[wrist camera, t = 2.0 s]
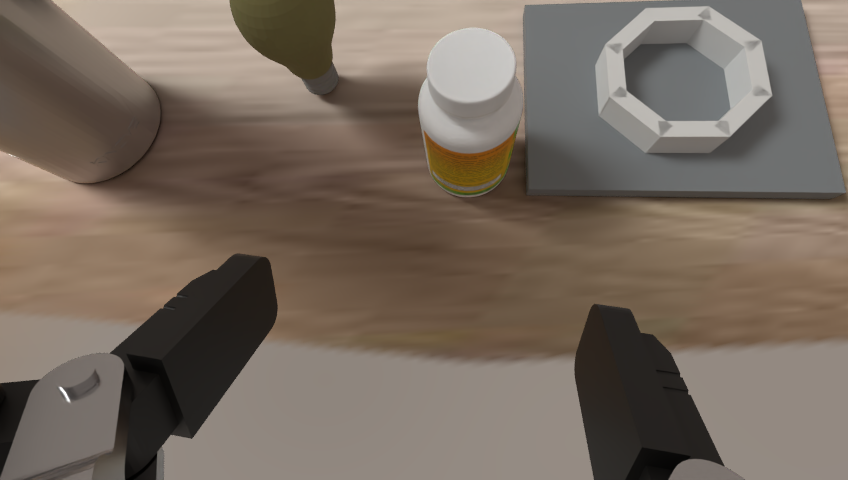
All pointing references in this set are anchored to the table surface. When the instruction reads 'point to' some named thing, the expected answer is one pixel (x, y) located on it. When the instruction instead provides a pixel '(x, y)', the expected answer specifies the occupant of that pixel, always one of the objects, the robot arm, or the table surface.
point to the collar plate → (675, 101)
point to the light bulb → (292, 36)
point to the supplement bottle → (470, 111)
